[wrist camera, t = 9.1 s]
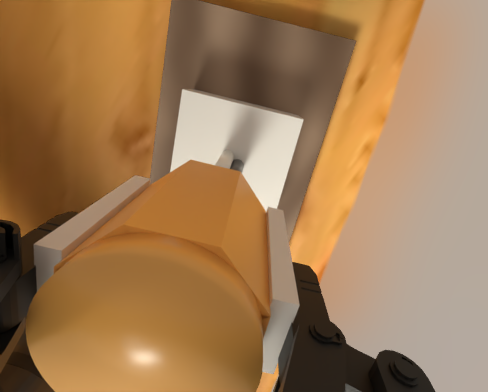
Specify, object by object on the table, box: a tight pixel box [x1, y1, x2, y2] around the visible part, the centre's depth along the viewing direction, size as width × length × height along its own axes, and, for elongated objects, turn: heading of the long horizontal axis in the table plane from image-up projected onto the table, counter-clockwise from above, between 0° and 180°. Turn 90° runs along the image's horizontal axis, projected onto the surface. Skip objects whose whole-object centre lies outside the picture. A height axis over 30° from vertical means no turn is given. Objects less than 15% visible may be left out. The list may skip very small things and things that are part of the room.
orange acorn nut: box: [26, 160, 271, 392], centre depth 11 cm, size 6×6×8 cm
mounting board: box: [150, 0, 356, 241], centre depth 29 cm, size 16×24×2 cm, turn 167°
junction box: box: [170, 89, 304, 212], centre depth 24 cm, size 10×10×9 cm
